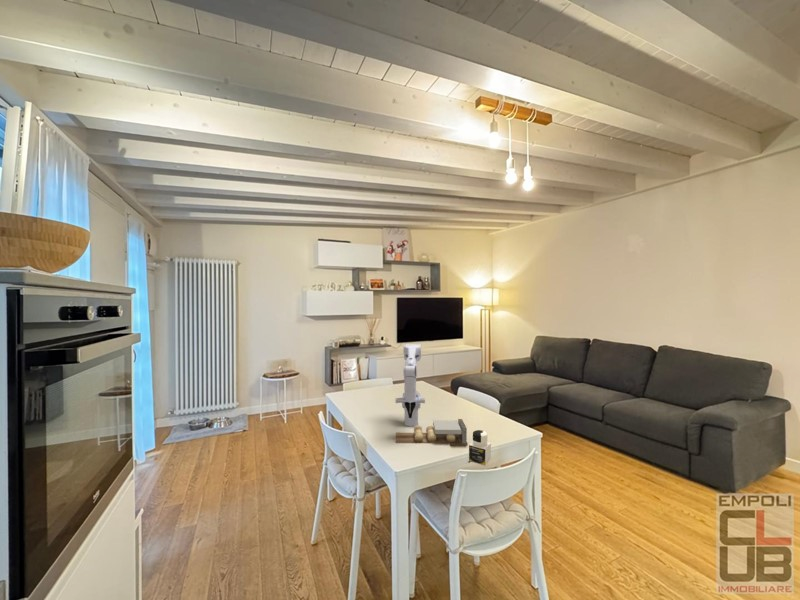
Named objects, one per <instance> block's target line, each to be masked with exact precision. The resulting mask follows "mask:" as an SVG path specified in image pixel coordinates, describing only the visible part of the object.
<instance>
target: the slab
mask: <svg viewBox="0 0 800 600" xmlns="http://www.w3.org/2000/svg"><path fill="white" fill-rule="evenodd" d="M432 426H433V427H434V431H435V434H461V428H460V426H459V424H458V419H457V420H453V419H450V420H448V419H447V420H443V419H440V420H439V419H433V420H432Z"/></svg>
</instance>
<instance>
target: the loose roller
mask: <svg viewBox="0 0 800 600" xmlns="http://www.w3.org/2000/svg"><path fill="white" fill-rule="evenodd" d="M445 436H446V439H447V441H448V442H450V443H451V442H454V441H455V436H454V434H445Z"/></svg>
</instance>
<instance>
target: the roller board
mask: <svg viewBox="0 0 800 600" xmlns="http://www.w3.org/2000/svg"><path fill="white" fill-rule="evenodd" d="M457 421H458V424H459V426H460V428H461V434H454V436H455V441H454V442H451V443H450V442H448V441H447V439H446V436H445V434H435V430H434V426H433V425H427V426H426V429H425V430H426V431H425V432H423V427H422V426H420V425H417V426H414V428H413V432H395V444H449V446H457V447H458V446H459V447H461V446H462V447H463V446H466V447H467V446H468V447H469V444H468V441H467V440H468V439H467V438H468V437H467V431H468V430H467V426H466V424H465V422H464V420H463V419H462V418H458V419H457Z"/></svg>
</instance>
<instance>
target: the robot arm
mask: <svg viewBox="0 0 800 600" xmlns="http://www.w3.org/2000/svg"><path fill="white" fill-rule="evenodd" d="M421 354H422V344H420V343H419V344H413V343H412V344H411V343H410V344H407V343H404V345H403V359H404V360H405V364H404V366H403V381H404V385H403V386H404V392H403V394H402V396H401V397H396V398H395V404H399V403H400V404H401V407H402V408H403V409H404V425H405V426H407V427H415V426H419V409H421V404H426V398H424V397H421V394H420V392H418V391H417V376H418V367H417V366H418V365H417V363H418V362H419V361H421V356H422V355H421Z"/></svg>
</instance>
